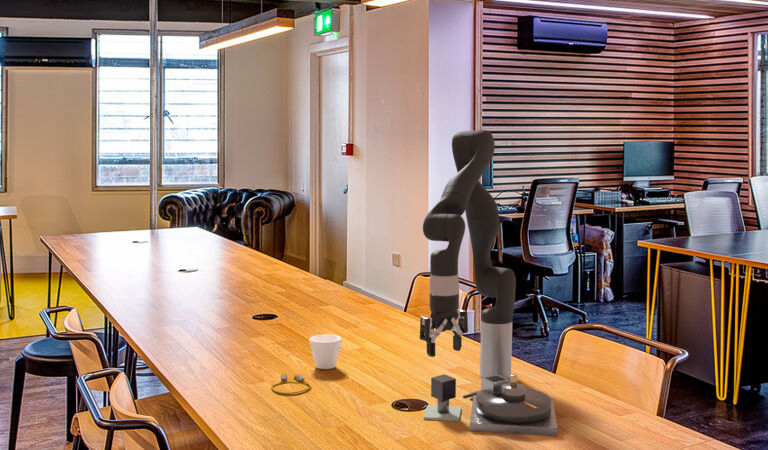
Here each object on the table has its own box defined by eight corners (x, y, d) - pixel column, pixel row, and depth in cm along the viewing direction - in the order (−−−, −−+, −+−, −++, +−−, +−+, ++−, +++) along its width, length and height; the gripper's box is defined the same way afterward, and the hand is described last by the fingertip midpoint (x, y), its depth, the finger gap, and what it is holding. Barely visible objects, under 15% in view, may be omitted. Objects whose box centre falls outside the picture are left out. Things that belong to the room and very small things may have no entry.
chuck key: (431, 410, 204) (431, 377, 202) (444, 407, 206) (444, 374, 205) (442, 416, 200) (442, 382, 199) (455, 412, 203) (455, 378, 201)
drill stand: (473, 402, 212) (473, 395, 212) (552, 406, 209) (552, 399, 209) (469, 430, 192) (469, 422, 191) (557, 436, 188) (557, 428, 188)
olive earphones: (322, 381, 231) (322, 375, 231) (301, 398, 216) (301, 391, 216) (284, 378, 235) (283, 371, 234) (261, 394, 220) (261, 387, 219)
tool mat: (427, 407, 208) (427, 405, 208) (461, 409, 207) (461, 406, 207) (423, 419, 199) (423, 416, 199) (458, 421, 198) (458, 419, 198)
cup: (340, 372, 239) (340, 342, 238) (307, 372, 239) (307, 342, 238) (342, 362, 249) (342, 334, 248) (311, 362, 249) (311, 334, 248)
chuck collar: (459, 403, 204) (460, 370, 203) (517, 392, 213) (517, 360, 212) (506, 428, 187) (507, 391, 186) (566, 414, 196) (567, 379, 195)
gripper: (455, 285, 206) (455, 345, 208) (413, 292, 198) (413, 354, 200) (474, 290, 200) (474, 351, 202) (432, 297, 192) (432, 361, 194)
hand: (444, 353), depth 201 cm, fingers open, 8 cm apart
